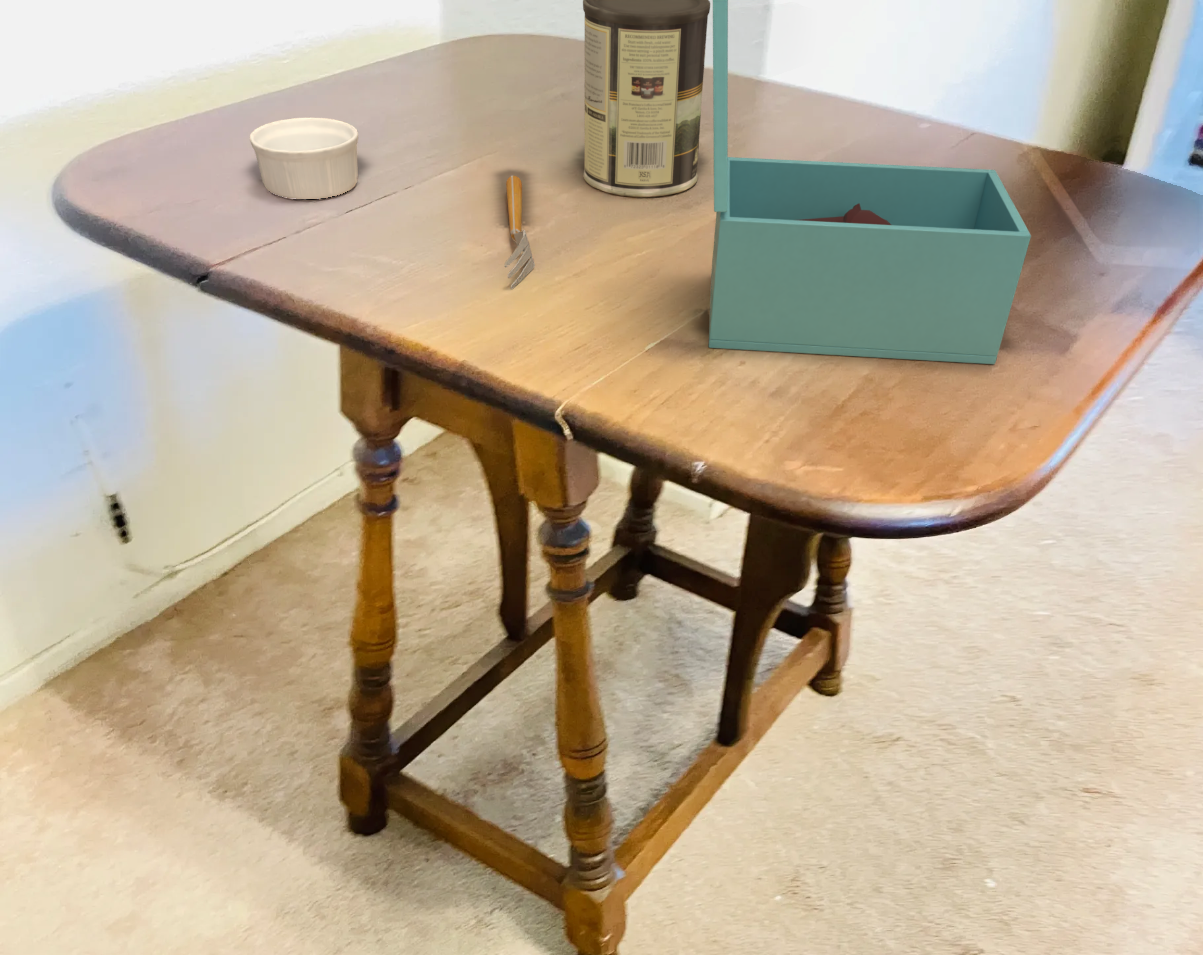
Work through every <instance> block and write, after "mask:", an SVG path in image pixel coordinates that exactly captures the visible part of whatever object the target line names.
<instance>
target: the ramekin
mask: <svg viewBox="0 0 1203 955" xmlns="http://www.w3.org/2000/svg"><path fill="white" fill-rule="evenodd" d="M249 142H250V145H251V147H252V149H253V151H254V154H255V157H256V162H257V166H258V168H259V172H260V176H261V181H262V184H263V186H264V187H265V189H266V190H267V191H268V192H269V191H270V192H269V193H270V194H272V193H274V194H276V195H279V196H283V197H287V198H296V199H317V198H319V200H321V199H320V198H326V199H329V198H328V197H331V198H333V197H332V196H335V197H338V196H341V195H344V194H345V192H346V193H347V191H348V192H350V191H351V190H353V188H354V187H355V186H356V184H357V182H358V178H359V173H358V172H359V171H358V170H359V168H358V143H359V131H358V130H357V128H356V127H354V125H352V124H350V123H348V122H345V121H342V120H338V119H333V118H327V117H295V118H294V117H293V118H285V119H280V120H275V121H271V122H268V123H265V124H263V125H260V126H259V127H256V128H255V129H254V130H252V132H251V133H250V135H249ZM343 193H344V194H343ZM274 194H273V195H274ZM340 194H341V195H340ZM276 195H275V196H276ZM337 195H338V196H337ZM279 196H278V197H279ZM287 198H286V199H287Z"/></svg>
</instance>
